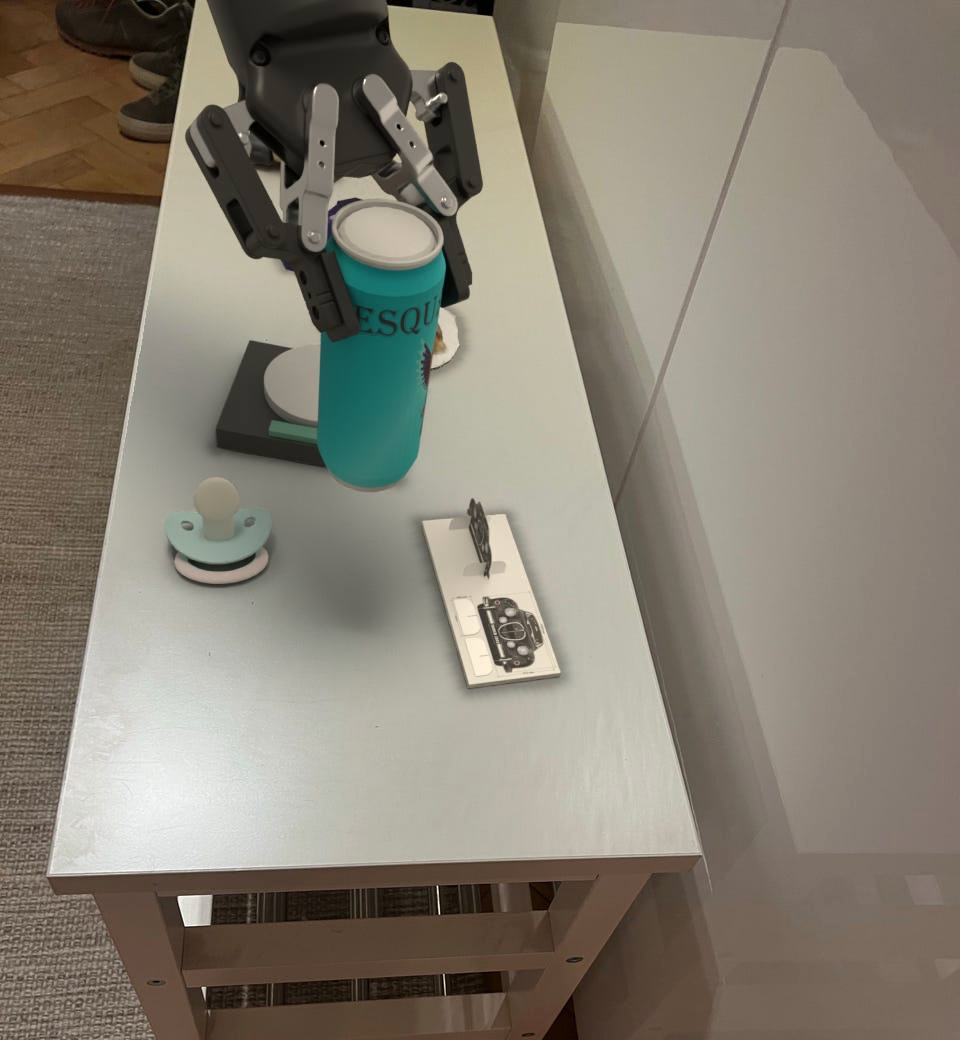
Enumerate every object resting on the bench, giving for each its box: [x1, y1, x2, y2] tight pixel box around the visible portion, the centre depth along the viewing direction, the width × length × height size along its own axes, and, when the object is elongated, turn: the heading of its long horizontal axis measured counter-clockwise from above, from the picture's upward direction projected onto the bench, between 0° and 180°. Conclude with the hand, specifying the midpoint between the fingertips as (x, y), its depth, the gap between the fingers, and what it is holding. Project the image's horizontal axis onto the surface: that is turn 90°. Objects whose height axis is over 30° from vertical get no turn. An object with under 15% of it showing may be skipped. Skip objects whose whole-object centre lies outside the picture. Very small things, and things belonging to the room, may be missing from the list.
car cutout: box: [420, 497, 562, 689], centre depth 70 cm, size 15×7×4 cm, turn 14°
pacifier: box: [163, 476, 273, 585], centre depth 68 cm, size 7×6×6 cm
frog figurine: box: [431, 307, 461, 369], centre depth 87 cm, size 12×12×4 cm
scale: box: [215, 339, 327, 468], centre depth 79 cm, size 14×11×3 cm
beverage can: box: [317, 198, 446, 493], centre depth 51 cm, size 6×6×15 cm
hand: (402, 318), depth 48 cm, fingers closed on beverage can, 5 cm apart
